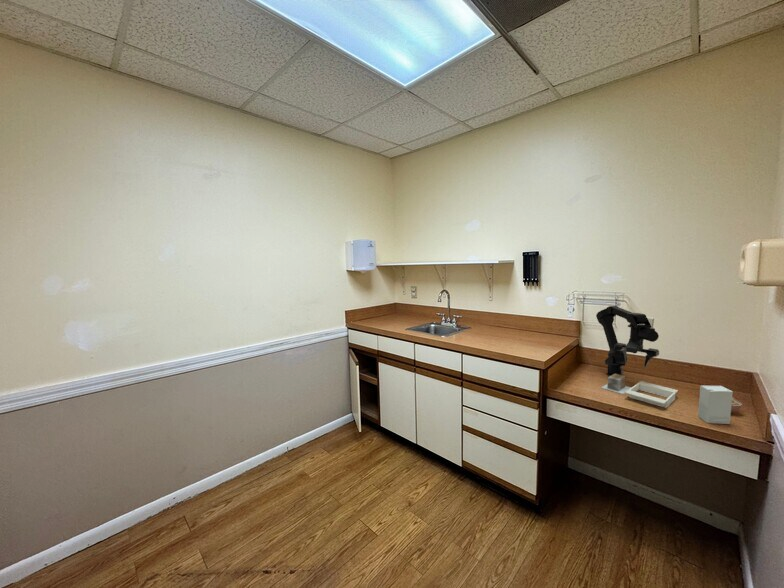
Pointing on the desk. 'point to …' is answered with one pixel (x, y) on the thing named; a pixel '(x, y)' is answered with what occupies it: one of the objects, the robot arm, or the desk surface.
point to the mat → (617, 391)
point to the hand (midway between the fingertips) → (634, 364)
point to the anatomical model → (733, 404)
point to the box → (616, 382)
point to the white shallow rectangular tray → (654, 390)
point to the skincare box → (715, 404)
